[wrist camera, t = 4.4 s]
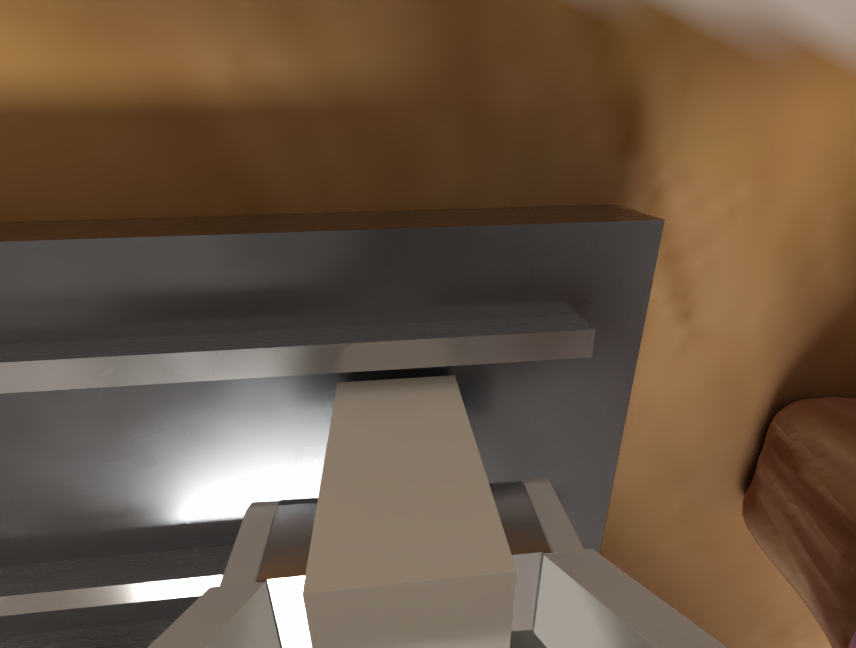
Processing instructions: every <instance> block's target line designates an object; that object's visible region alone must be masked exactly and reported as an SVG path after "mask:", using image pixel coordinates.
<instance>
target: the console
mask: <svg viewBox="0 0 856 648" xmlns="http://www.w3.org/2000/svg"><path fill="white" fill-rule="evenodd" d="M663 225H664V220H663V219H660V218H657V217H653V216H650V215H647V214H643V213H640V212H637V211H633V210H630V209H626V208H623V207H620V206H616V205H595V206H561V207H527V208H493V209H459V210H425V211H391V212H357V213H324V214H290V215H256V216H222V217H188V218H154V219H120V220H86V221H52V222H18V223H0V648H147V647H148V646H149V645H150V644H152V643H153V642H154V641H155V640H156V639H157V638H158V637H159V636H160V635H161V634H162V633H163V632H164V631H165V630H166V629H167V628H168V627H169V626H170V625H171V624H172V623H173V622H174V621H175V620H176V619H177V618H178V617H179V616H181V615H182V614H183V613H184V612H185V611H186V610H187V609H188V608H189V607H190V606H191V605H192V604H193V603H194V602H195V601H196V600H197V599H198V598H199V597H200V596H201V595H202V594H203V593H204V592H205V591H206V590H207V589H208V588H210V587H216V586H219V585H220V583H221V580H222V577H223V574H224V571H225V569H226V566H227V563H228V560H229V557H230V555H231V552H232V549H233V546H234V543H235V541H236V538H237V535H238V532H239V529H240V527H241V524H242V521H243V518H244V515H245V512H246V510H247V508H248V507H249V506H250V505H251V503H252V502H268V501H281V500H290V499H307V498H318V496H319V490H320V484H321V478H322V472H323V466H324V460H325V454H326V447H327V441H328V435H329V429H330V423H331V417H332V411H333V405H334V399H335V393H336V387H337V383H340V382H356V381H372V380H388V379H404V378H419V377H435V376H451V375H455V378H456V381H457V384H458V387H459V391H460V394H461V397H462V400H463V403H464V406H465V409H466V413H467V416H468V419H469V422H470V425H471V428H472V432H473V435H474V438H475V441H476V444H477V447H478V450H479V454H480V457H481V460H482V463H483V466H484V469H485V473H486V476H487V479H488V482H489V483H496V482H506V481H517V480H518V481H520V480H525V479H535V478H547V479H548V480H549V481H550V483H551V485H552V487H553V489H554V491H555V493H556V495H557V497H558V499H559V501H560V503H561V505H562V506H563V508H564V510H565V512H566V514H567V516H568V518H569V520H570V522H571V524H572V526H573V528H574V530H575V532H576V534H577V536H578V538H579V540H580V542H581V544H582V546H583V548H584V549H593V550H595V551H596V552H598V553H599V552H600V547H601V542H602V537H603V531H604V526H605V521H606V516H607V511H608V506H609V501H610V496H611V491H612V486H613V480H614V475H615V470H616V465H617V460H618V455H619V450H620V445H621V440H622V435H623V429H624V424H625V419H626V414H627V409H628V404H629V399H630V394H631V389H632V384H633V378H634V373H635V368H636V363H637V358H638V353H639V348H640V343H641V338H642V333H643V327H644V322H645V317H646V312H647V307H648V302H649V297H650V292H651V287H652V282H653V276H654V271H655V266H656V261H657V256H658V251H659V246H660V241H661V236H662V230H663ZM510 648H547V647H546V646H545V645H544V644H543V643H542V641H541V640H540V639H539V638H538V637H537V636H536V634H535V633H534V630H522V631H511V639H510Z"/></svg>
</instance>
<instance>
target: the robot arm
mask: <svg viewBox="0 0 856 648" xmlns="http://www.w3.org/2000/svg"><path fill="white" fill-rule="evenodd" d="M489 485H490V488H491V491H492V495H493V498H494V501H495V504H496V507H497V510H498V514H499V517H500V520H501V523H502V526H503V529H504V533H505V536H506V539H507V542H508V545H509V548H510V551H511V555H512V558H513V561H514V564H515V567H516V570H517V576H516V586H515V597H514V607H513V618H512V628H511V631H522V630H534V633H535V634H536V636H537V637H538V638H539V639H540V640H541V641H542V643H543V644H544V645H545V646H546V647H547V648H727V647H726V646H725V645H723V644H722V643H721V642H719V641H718V640H717V639H715V638H714V637H712V636H711V635H710V634H708V633H707V632H706V631H704V630H703V629H702V628H700V627H699V626H697V625H696V624H695V623H693V622H692V621H691V620H689V619H688V618H686V617H685V616H684V615H682V614H681V613H680V612H678V611H677V610H676V609H674V608H673V607H671V606H670V605H669V604H667V603H666V602H665V601H663V600H662V599H660V598H659V597H658V596H656V595H655V594H654V593H652V592H651V591H650V590H648V589H647V588H645V587H644V586H643V585H641V584H640V583H639V582H637V581H636V580H635V579H633V578H632V577H630V576H629V575H628V574H626V573H625V572H624V571H622V570H621V569H619V568H618V567H617V566H615V565H614V564H613V563H611V562H610V561H609V560H607V559H606V558H604V557H603V556H602V555H600V554H599V553H598V552H596V551H595V550H593V549H584V548H583V546H582V544H581V542H580V540H579V538H578V536H577V534H576V532H575V530H574V528H573V526H572V524H571V522H570V520H569V518H568V516H567V514H566V512H565V510H564V508H563V506H562V505H561V503H560V501H559V499H558V497H557V495H556V493H555V491H554V489H553V487H552V485H551V483H550V481H549V480H548V479H547V478H535V479H525V480H520V481H518V480H517V481H506V482H496V483H489ZM317 502H318V498H307V499H290V500H281V501H268V502H252V503H251V505H250V506H249V507H248V508H247V510H246V512H245V515H244V518H243V521H242V524H241V527H240V529H239V532H238V535H237V538H236V541H235V543H234V546H233V549H232V552H231V555H230V557H229V560H228V563H227V566H226V569H225V571H224V574H223V577H222V580H221V583H220V585H219V586H216V587H210V588H208V589H207V590H206V591H205V592H204V593H203V594H202V595H201V596H200V597H199V598H198V599H197V600H196V601H195V602H194V603H193V604H192V605H191V606H190V607H189V608H188V609H187V610H186V611H185V612H184V613H183V614H182V615H181V616H179V617H178V618H177V619H176V620H175V621H174V622H173V623H172V624H171V625H170V626H169V627H168V628H167V629H166V630H165V631H164V632H163V633H162V634H161V635H160V636H159V637H158V638H157V639H156V640H155V641H154V642H153V643H152V644H150V645H149V646H148V647H147V648H312V644H311V639H310V634H309V628H308V623H307V617H306V612H305V606H304V601H303V596H302V592H303V586H304V580H305V574H306V568H307V562H308V556H309V550H310V544H311V538H312V532H313V526H314V520H315V514H316V508H317Z"/></svg>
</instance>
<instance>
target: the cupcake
mask: <svg viewBox="0 0 856 648" xmlns="http://www.w3.org/2000/svg"><path fill="white" fill-rule="evenodd" d="M742 515H743V517H744V520H745V523H746V525H747V527H748V529H749V531H750V532H751V534H752V536H753V537H754V539H755V540H756V542H757V543H758V545H759V546H760V547H761V549H762V550H763V551H764V553H765V554H766V555H767V556H768V558H769V559H770V560H771V561H772V563H773V564H774V565H775V566H776V567H777V569H778V570H779V571H780V572H781V574H782V575H783V576H784V577H785V578H786V580H787V581H788V582H789V583H790V585H791V586H792V587H793V588H794V590H795V591H796V592H797V594H798V595H799V596H800V597H801V599H802V600H803V601H804V603H805V604H806V606H807V607H808V609H809V610H810V611H811V613H812V614H813V616H814V617H815V619H816V620H817V622H818V623H819V625H820V627H821V628H822V630H823V631H824V633H825V635H826V636H827V638H828V640H829V643H830V645H831V646H832V648H856V399H853V398H843V397H834V396H831V397H824V398H810V399H803V400H799V401H795V402H793V403H790V404H789V405H787V406H786V407H784V408H783V409H782V410H780V411H779V412H778V413H777V414H776V415H775V417H774V418H773V420H772V422H771V424H770V426H769V428H768V431H767V434H766V438H765V442H764V446H763V448H762V451H761V453H760V456H759V459H758V463H757V469H756V471H755V474H754V476H753V479H752V482H751V484H750V486H749V488H748V490H747V492H746V494H745V496H744V499H743V513H742Z"/></svg>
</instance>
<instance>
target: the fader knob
mask: <svg viewBox="0 0 856 648" xmlns="http://www.w3.org/2000/svg"><path fill="white" fill-rule="evenodd" d="M516 576H517V570H516V567H515V564H514V561H513V558H512V555H511V551H510V548H509V545H508V542H507V539H506V536H505V533H504V529H503V526H502V523H501V520H500V517H499V514H498V510H497V507H496V504H495V501H494V498H493V495H492V491H491V488H490V485H489V482H488V479H487V476H486V473H485V469H484V466H483V463H482V460H481V457H480V454H479V450H478V447H477V444H476V441H475V438H474V435H473V432H472V428H471V425H470V422H469V419H468V416H467V413H466V409H465V406H464V403H463V400H462V397H461V394H460V391H459V387H458V384H457V381H456V378H455V375H451V376H435V377H419V378H404V379H388V380H372V381H356V382H340V383H337V387H336V393H335V399H334V405H333V411H332V417H331V423H330V429H329V435H328V441H327V447H326V454H325V460H324V466H323V472H322V478H321V484H320V490H319V496H318V502H317V508H316V514H315V520H314V526H313V532H312V538H311V544H310V550H309V556H308V562H307V568H306V574H305V580H304V586H303V592H302V596H303V601H304V606H305V612H306V617H307V623H308V628H309V634H310V639H311V644H312V648H510V639H511V628H512V618H513V607H514V597H515V586H516Z"/></svg>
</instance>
